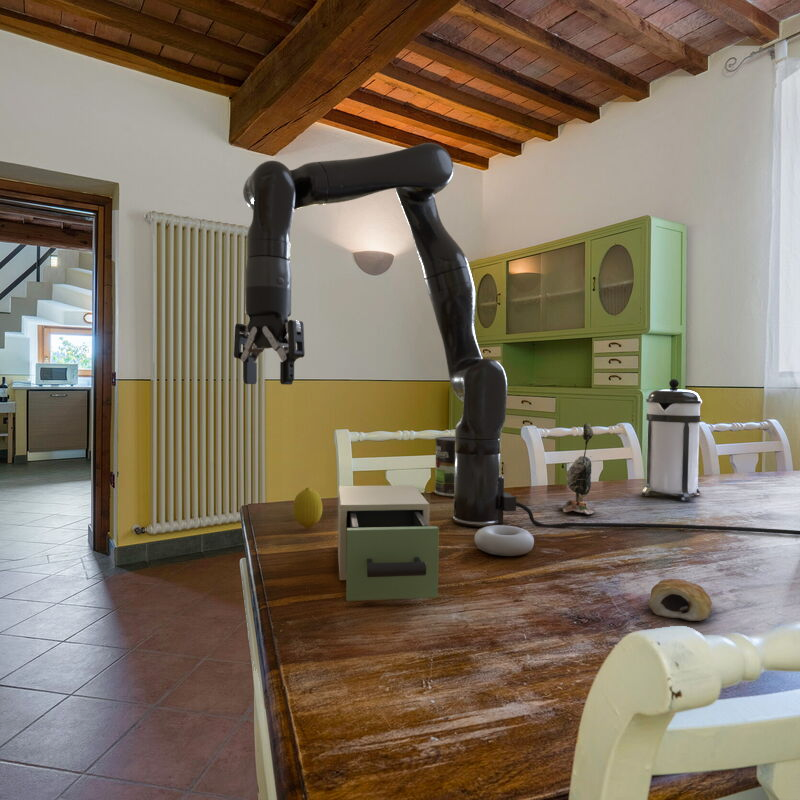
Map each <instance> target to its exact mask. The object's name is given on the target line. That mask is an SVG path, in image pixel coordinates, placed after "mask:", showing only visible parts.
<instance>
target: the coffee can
mask: <svg viewBox="0 0 800 800" xmlns="http://www.w3.org/2000/svg"><path fill="white" fill-rule="evenodd" d="M434 441H435V470H434V471H435V474H434V476H435V478H434V479H435V480H434V493H435V494H436V495H439V496H444V497H453V498H454V480H455V436H438V437H435V440H434Z"/></svg>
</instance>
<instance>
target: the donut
mask: <svg viewBox="0 0 800 800" xmlns="http://www.w3.org/2000/svg"><path fill="white" fill-rule="evenodd" d="M473 540H474V543H475V546H476V547H477V548H478V549H479V550H480V551H482V552H484V553H487V554H489V555H494V556H500V557H517V556H523V555H526V554H528V553H529V552H531V551H532V550H533V547H534V545H535V538H534V536H533V535H532V534H531V532H529V530H526V529H525V528H522V527H518V526H513V525H504V524H498V525H494V526H487V527H480V528H479V529H478V530H477V532H475V535H474V539H473Z"/></svg>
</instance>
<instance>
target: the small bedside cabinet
mask: <svg viewBox="0 0 800 800" xmlns="http://www.w3.org/2000/svg"><path fill="white" fill-rule="evenodd" d="M337 487H338V496H337V498H338V501H337V505H338V506H337V508H338V509H337V558H338V573H339V581H346V564H347V528H349V511H381V510H418V511H419V512H420V514H421V515H422V516H423V518H424V519H425V521H426V522H427V524H428V525H429V526H430V503H429V501H427V499H426V498H425V496H423V495H422V493H421V492H420V491H419V489H418V488H417V487H416V486H415V485H413V484H408V485H407V484H403V485H402V484H401V485H400V484H399V485H397V484H396V485H394V484H392V485H390V484H389V485H338V486H337Z"/></svg>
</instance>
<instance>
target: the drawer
mask: <svg viewBox="0 0 800 800" xmlns="http://www.w3.org/2000/svg"><path fill="white" fill-rule="evenodd" d="M439 542H440V528H439V527H438V526H437V525H430V524H429V525H428V524H427V522H426V521H425V519H424V518H423V516H422V515H421V514H420V512H419V511H418V510H381V511H349V528H347V564H346V580H345V581H346V584H345V592H346V593H345V600H346V602H354V601H355V602H357V601H384V600H385V601H386V600H410V599H411V600H413V599H435V598H436V599H437V598H438V597H439V556H440V555H439V553H440V552H439V550H440V549H439V547H440V546H439V544H440V543H439Z"/></svg>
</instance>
